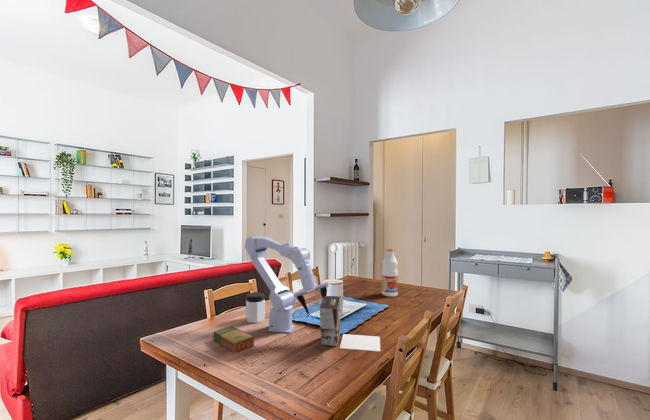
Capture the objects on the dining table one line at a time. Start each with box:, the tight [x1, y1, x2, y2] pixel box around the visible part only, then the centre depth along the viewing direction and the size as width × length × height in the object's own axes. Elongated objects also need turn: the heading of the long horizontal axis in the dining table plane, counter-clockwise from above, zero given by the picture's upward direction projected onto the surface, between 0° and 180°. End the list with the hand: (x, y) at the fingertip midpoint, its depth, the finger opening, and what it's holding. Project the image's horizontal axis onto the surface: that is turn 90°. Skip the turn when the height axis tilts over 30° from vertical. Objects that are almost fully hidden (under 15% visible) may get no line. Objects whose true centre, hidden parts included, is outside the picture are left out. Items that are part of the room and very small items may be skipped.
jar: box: [245, 291, 266, 324], centre depth 146 cm, size 9×8×12 cm
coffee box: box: [319, 295, 341, 347], centre depth 122 cm, size 9×6×16 cm
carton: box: [213, 325, 255, 354], centre depth 121 cm, size 8×16×4 cm, turn 47°
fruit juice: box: [381, 247, 399, 297], centre depth 191 cm, size 9×9×28 cm
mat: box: [339, 333, 381, 353], centre depth 123 cm, size 15×13×1 cm
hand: (317, 310), depth 126 cm, fingers open, 7 cm apart
